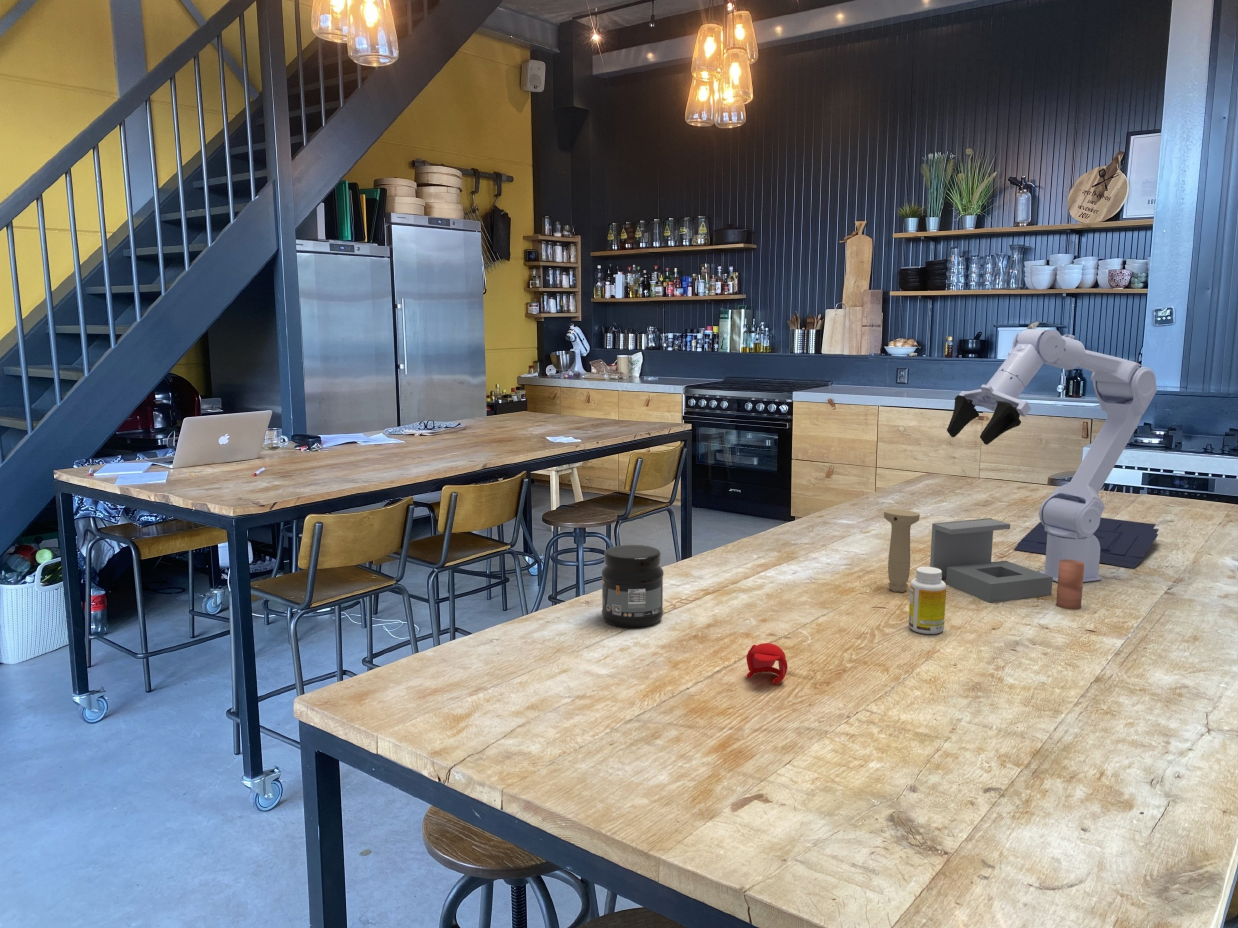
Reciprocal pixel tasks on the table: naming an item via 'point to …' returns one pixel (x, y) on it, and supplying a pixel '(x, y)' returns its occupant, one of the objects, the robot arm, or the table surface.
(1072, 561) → the peg
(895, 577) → the handle
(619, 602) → the supplement container
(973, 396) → the robot arm
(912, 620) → the supplement bottle
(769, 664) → the red toy helmet
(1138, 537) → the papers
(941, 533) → the socket stand
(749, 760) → the table surface
